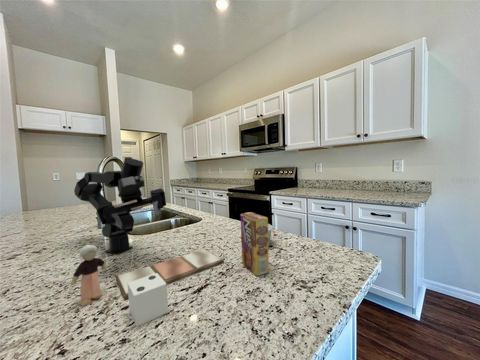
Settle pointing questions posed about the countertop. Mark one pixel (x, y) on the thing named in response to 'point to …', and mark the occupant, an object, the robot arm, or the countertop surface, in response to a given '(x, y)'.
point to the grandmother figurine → (89, 275)
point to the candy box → (255, 243)
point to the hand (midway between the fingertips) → (140, 222)
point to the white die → (147, 298)
